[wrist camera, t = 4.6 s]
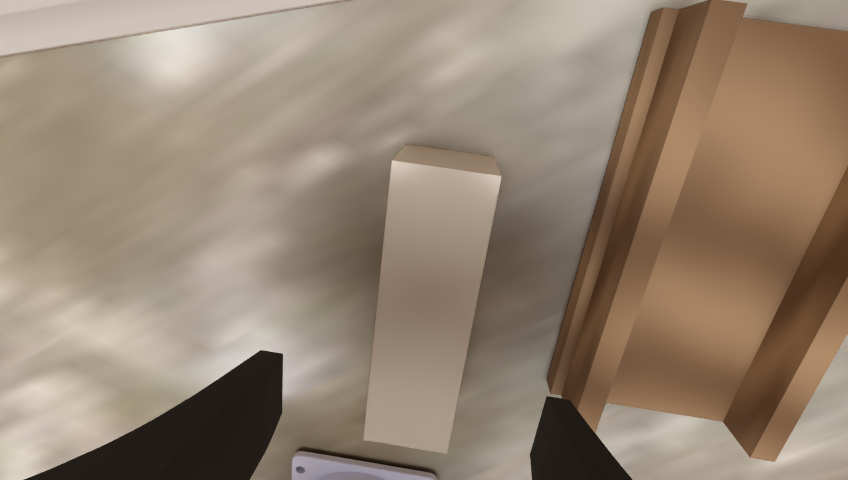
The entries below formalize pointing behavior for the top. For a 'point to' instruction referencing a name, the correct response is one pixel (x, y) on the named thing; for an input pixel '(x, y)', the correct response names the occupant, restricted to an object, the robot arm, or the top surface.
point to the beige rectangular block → (428, 292)
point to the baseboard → (117, 19)
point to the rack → (717, 230)
